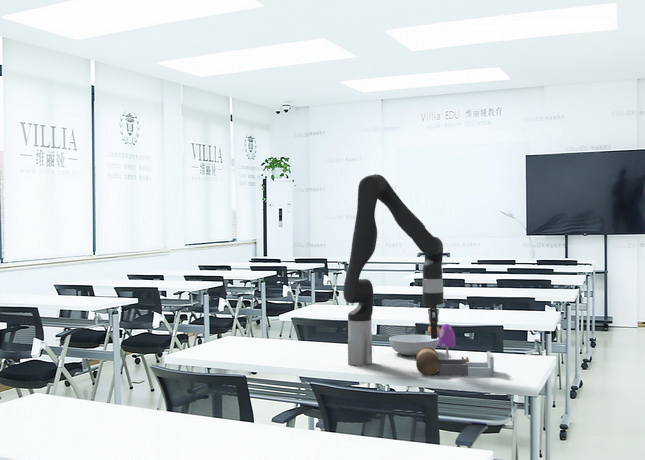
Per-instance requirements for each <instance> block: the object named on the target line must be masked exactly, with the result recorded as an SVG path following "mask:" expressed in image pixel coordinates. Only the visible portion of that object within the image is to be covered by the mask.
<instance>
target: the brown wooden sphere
mask: <svg viewBox="0 0 645 460" xmlns="http://www.w3.org/2000/svg"><path fill="white" fill-rule="evenodd" d="M439 359H440V357H439V354H438V352H437V351H436V349H435V350H434V349H432V348H430V347H424V348H422V349H420V350H419V351H418V353H417V355H416V356H415V365H416V369H417V371H418V372H419V373H420V374H421V375H423V376H427V377H429V376H434V375H436V374H437V373H438V372H439V367H440V361H439Z"/></svg>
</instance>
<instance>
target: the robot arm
mask: <svg viewBox="0 0 645 460" xmlns="http://www.w3.org/2000/svg"><path fill="white" fill-rule="evenodd" d="M378 200H379V201H380V202H381V203H382V204H384V206H385V207H386V208H387V209H388V211H389V212H390V214H391V215H392V217H393V219H394V220H395V223H396V224H397V225H398V226H399V228H400V229H401V230H402V231H403V232H404V233H405V234H406V235H407V236H408V237H409V238H410V239H411V240H412V242H413V243H414V244H415V245H416V247H417V248H418V249H419V251H421V252H422V253H423V254H424V264H423V266H422V304H423V305H427V306H428V305H429V308H427V314H428V322H429V326H430V328H431V335H430V336H431V339H437V337H438V335H437V328H438V323H439V315H440V310H439V309H440V308H437V306H438V305H439V306H440V305H443V304H444V302H445V301H444V299H445V298H444V280H443V267H442V265H443V259H444V258H443V256H444V245H443V242H442V239H440V238H439V237H438V236H434V235H432V233H431V232H429V231H428V229H427V228H426V225H425V224H424V223H423V222H422V220H420V219H419V218H418V217H417V216H416V215H415V213H413V212H412V211H411V210H410V209H409V207H408V206H407V205H406V204H405V203H404V201H402V200H401V198H400V197H399V196H398V194H397V193H396V191H394V189H393V187H392V186H391V184H390V183H389V182H388V180H387V179H386V178H385V177H384V176H383V175H381V174H377V173H376V174H370V175H366V176H364V177H363V178H361V179H360V181H359V183H358V190H357V208H356V217H355V221H354V222H355V223H354V227H353V229H354V230H353V234H352V242H351V249H350V255H349V261H348V267H347V271H346V275H345V279H344V283H343V291H342V293H343V298H344V300H345V302H346V303H348V304H358V305H357V306H356V307H355V309H353V310H351V311H349V312H348V315H347V316H348V317H347V325H348V326H347V329H348V331H347V335H348V339H347V364H348V365H351V366H369V365H372V364H373V341H372V340H373V334H372V331H373V329H372V328H373V327H372V326H373V325H372V324H373V323H372V315H373V313H374V311H373V310H374V287H373V286H374V285H373V283H372V282H371V281H370V280H369V279H368V278H362V279H361V278H360V276H361V273H362V271H363V269H364V267H365V266H366V264H367V263H368V261H369V260H370V259H371V258H372V257H373V255H374V253H375V250H376V246H377V241H378V228H377V223H376V207H377V202H378Z"/></svg>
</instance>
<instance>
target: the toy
mask: <svg viewBox="0 0 645 460" xmlns="http://www.w3.org/2000/svg"><path fill="white" fill-rule="evenodd" d="M438 346H439V347H442V348H445V359H450V358H449V348H454V347H455V346H456V334H455V331H454V329H453V326H451V324H449V323H444V324H442V326H441V327H440V333H439V335H438Z"/></svg>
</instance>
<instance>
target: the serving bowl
mask: <svg viewBox="0 0 645 460" xmlns="http://www.w3.org/2000/svg"><path fill="white" fill-rule="evenodd" d="M438 338H439V336H437V339H431V335H430V334H429V335H427V334H399V335H394V336H389V339H388V340H389V344H390V347H391V348H392V349H393V351H395V352H397V353H398V354H402V355H405V356H411V357H416V355H417V353H418V351H419V350H420V349H422V348H424V347H430V348H432V349H434V350H435V351H436V349H437V348H438V346H439V344H438Z"/></svg>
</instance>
